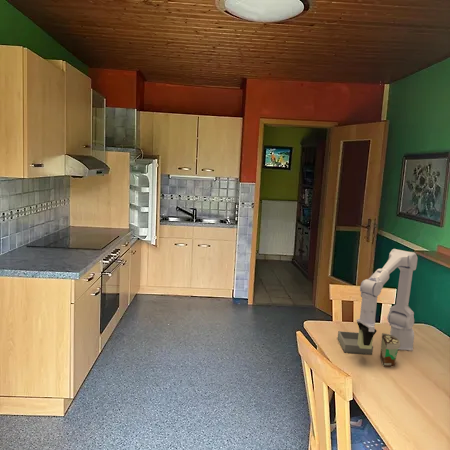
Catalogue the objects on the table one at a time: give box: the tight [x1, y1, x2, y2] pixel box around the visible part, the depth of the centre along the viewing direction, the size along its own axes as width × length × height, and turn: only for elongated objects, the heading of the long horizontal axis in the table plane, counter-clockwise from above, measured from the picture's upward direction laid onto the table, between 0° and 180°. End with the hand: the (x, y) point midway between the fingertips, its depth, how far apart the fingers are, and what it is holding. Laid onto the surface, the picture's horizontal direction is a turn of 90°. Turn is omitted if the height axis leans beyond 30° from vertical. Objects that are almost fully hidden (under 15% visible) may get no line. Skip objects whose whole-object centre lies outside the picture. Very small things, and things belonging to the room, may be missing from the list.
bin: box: [337, 330, 374, 356], centre depth 188 cm, size 11×15×4 cm
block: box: [357, 329, 374, 349], centre depth 172 cm, size 4×4×6 cm
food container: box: [379, 332, 400, 368], centre depth 173 cm, size 12×6×10 cm, turn 168°
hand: (364, 342), depth 172 cm, fingers closed on block, 4 cm apart
